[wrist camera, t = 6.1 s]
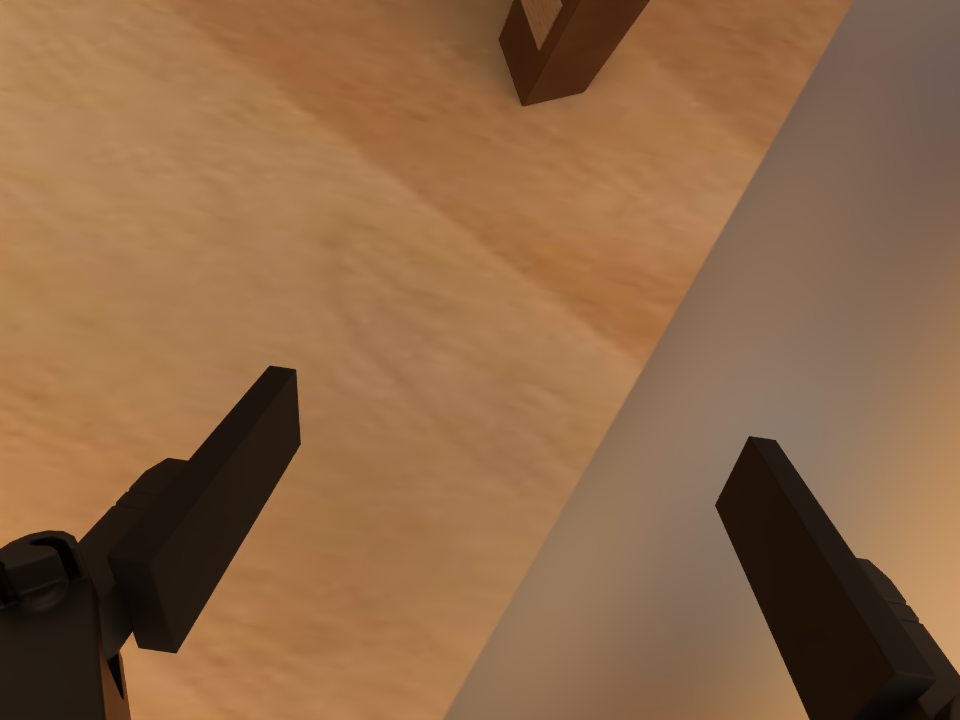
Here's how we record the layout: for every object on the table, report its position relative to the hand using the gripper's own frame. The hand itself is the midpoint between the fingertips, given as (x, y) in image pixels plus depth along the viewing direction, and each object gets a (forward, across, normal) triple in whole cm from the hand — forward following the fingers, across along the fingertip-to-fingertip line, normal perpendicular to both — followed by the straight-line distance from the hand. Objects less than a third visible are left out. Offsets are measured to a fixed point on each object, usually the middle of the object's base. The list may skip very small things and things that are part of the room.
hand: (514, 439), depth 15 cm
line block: (+30, 0, +10) cm, 32 cm away
